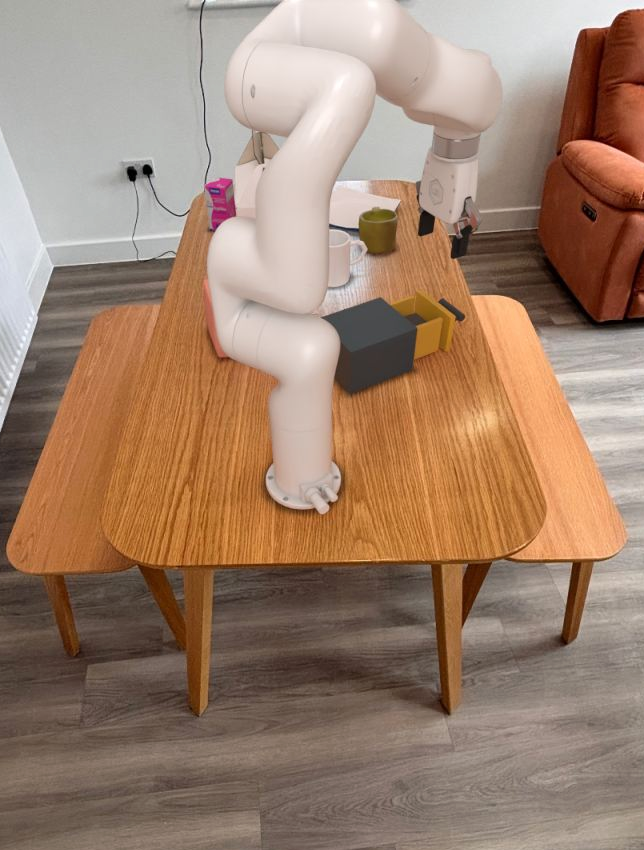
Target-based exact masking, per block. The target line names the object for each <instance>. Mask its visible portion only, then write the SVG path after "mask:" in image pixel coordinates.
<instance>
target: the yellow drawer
mask: <svg viewBox="0 0 644 850" xmlns="http://www.w3.org/2000/svg"><path fill="white" fill-rule="evenodd" d="M388 304H389V305H391V306H392V307H393V308H394V309H395V310H397V311H398V312H399V313H400V314H401V315H403V316H404V317H405V316H408V315H411V314H414V313H417V314H418V315H419V316H421V317H422V318H423V319H424V320H426V321H427V322H426V323H423V324H420V325H418V326H416V327H417V328H418V330H417V338H416V346H415V354H414V361H415V360H418V359H420V358H423V357H426V356H428V355H430V354H433V353H436V352H438V351H439V348H440V349H441V350H442V351H444V353H446V352H449V351H451V346H452V340H453V336H454V335H453V334H454V328H455V324H456V323H455V322H456V321H458V322H463V321H464V320H465V318H466V315H465V313H463V312H462V311H461V310H459V309H458V308H456V307H455V306H454V305H453V304H451V303H450V302H449V301H447V299H445V298H439V300H436V299H434V298H433V297H432V296H431V295H430V294H428V293H427V292H425V291H424V290H423V289H418V290H416V292H415V296H414V295H409V296H406V297H404V298H401V299H398V300H395V301H392V302H389V303H388Z"/></svg>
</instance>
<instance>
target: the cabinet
mask: <svg viewBox="0 0 644 850" xmlns="http://www.w3.org/2000/svg"><path fill="white" fill-rule="evenodd" d="M319 317H320V318H322V319H324V320H326V321H327V322H329V323H330V324H331V325H332V326H333V327H334V328H335V329H336V331H337V333H338V335H339V338H340V353H339V358H338V362H337V367H336V371H335V376H334V380H335V381H336V382H337V383H338V384H339V385H340V386H341V387H342V388H343V389H344V390H345V391H346V392H347V393H348V394H349V395H352V394H354V393H356V392H359V391H362V390H364V389H368V388H370V387H372V386H375V385H379V384H380V383H383V382H385V381H388V380H391V379H393V378H395V377H398V376H401V375H404V374H406V373H409V372H412V371H413V370H414V369H413V368H414V362H415V360H414V354H415V346H416V338H417V330H418V328H417V327H416V326H414V325H413V324H412V323H411V322H410V321H408V320H407V319H406V318H405V317H404V316H403V315H401V314H400V313H399V312H398V311H397V310H395V309H394V308H393V307H392V306H391V305H389V303H388V302H387V300H385V299H384V298H382V296H381V297H380V296H379V297H377V298H373V299H370V300H368V301H365V302H362V303H359V304H356V305H353V306H349V307H347V308H344V309H341V310H338V311H335V312H332V313H328V314H326V315H323V316H319Z"/></svg>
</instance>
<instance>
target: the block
mask: <svg viewBox="0 0 644 850" xmlns="http://www.w3.org/2000/svg"><path fill="white" fill-rule="evenodd" d="M405 318H406V319H407V320H408V321H410V322H411V323H412V324H413V325H414V326H418V325H420V324H423V323H426V322H427V321H426V320H424V319H423V318H422V317H421V316H419V315H418V314H417V313H414V312H413V314H411V315H408V316H405Z"/></svg>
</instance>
